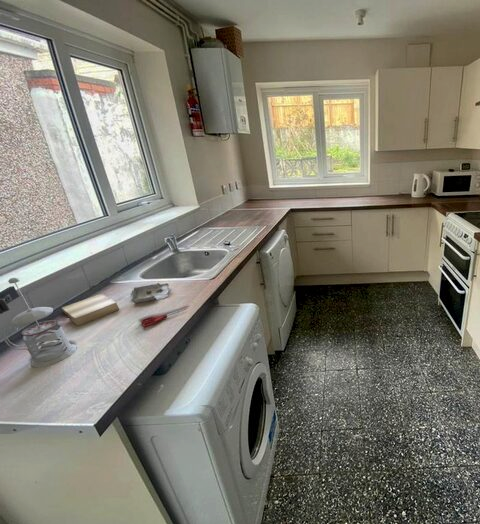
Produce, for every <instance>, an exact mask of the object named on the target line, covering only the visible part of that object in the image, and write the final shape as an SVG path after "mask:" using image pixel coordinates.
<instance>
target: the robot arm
mask: <svg viewBox="0 0 480 524" xmlns="http://www.w3.org/2000/svg"><path fill="white" fill-rule="evenodd" d="M19 297H20V294H19V293H18V291H17V290H16V288H15V286H14V285H12V286H8V287H6V288H5V289H3V290H1V291H0V315H2V314H4V313H5V312H8V311H10V307H9V305H8V304H9V303H11V302H13V301H14V300H16V299H18V298H19Z"/></svg>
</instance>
